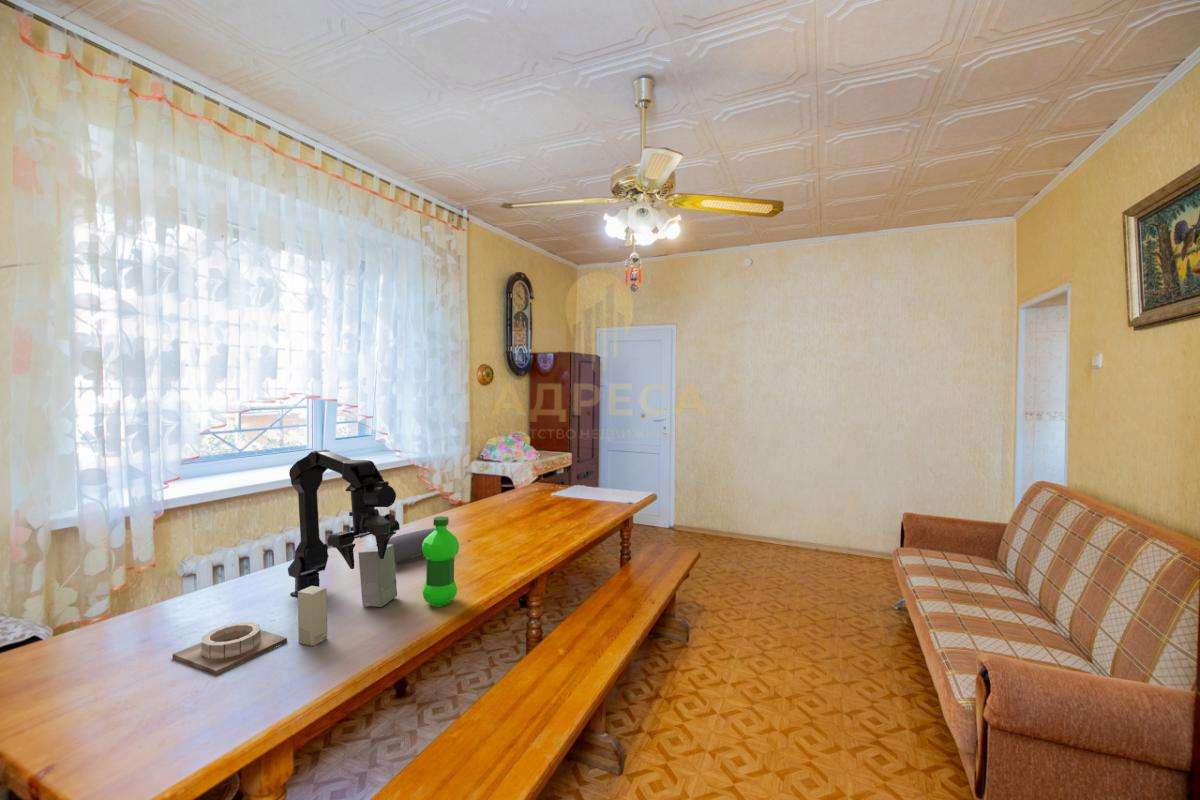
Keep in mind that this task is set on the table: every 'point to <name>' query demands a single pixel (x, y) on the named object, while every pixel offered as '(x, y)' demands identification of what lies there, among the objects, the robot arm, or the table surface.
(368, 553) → the skincare box
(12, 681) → the table surface
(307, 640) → the box
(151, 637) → the table surface
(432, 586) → the plastic bottle
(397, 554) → the bluetooth speaker
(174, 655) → the ring socket
